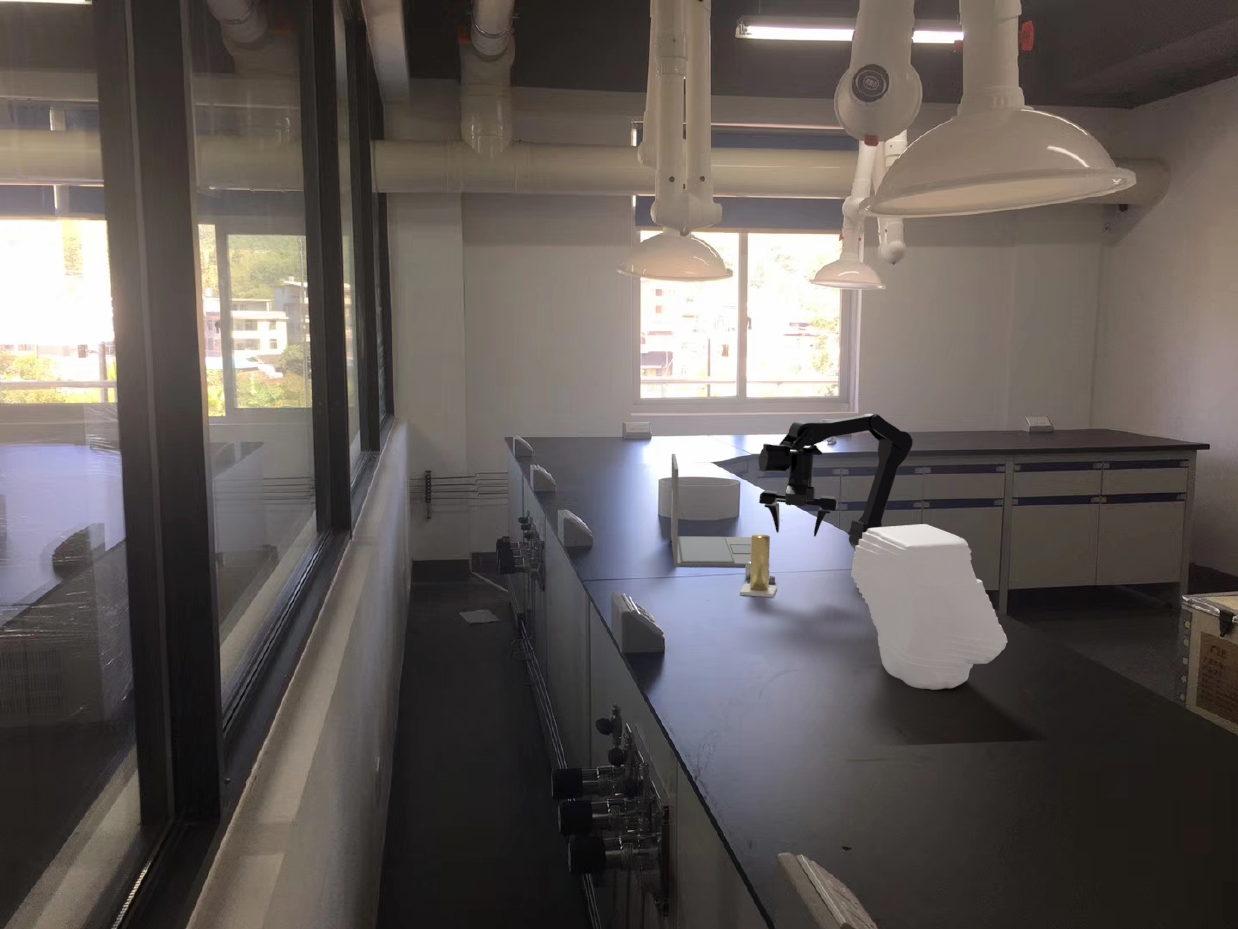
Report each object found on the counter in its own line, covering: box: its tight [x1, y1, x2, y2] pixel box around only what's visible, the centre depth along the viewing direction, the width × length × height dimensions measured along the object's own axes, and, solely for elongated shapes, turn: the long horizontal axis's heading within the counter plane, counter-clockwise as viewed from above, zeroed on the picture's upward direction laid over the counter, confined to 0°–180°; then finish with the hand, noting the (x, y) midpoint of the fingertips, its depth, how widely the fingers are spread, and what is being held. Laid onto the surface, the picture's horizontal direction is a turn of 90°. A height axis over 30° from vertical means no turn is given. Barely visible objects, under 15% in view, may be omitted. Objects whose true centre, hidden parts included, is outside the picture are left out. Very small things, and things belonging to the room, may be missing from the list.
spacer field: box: [744, 562, 776, 585], centre depth 236 cm, size 8×10×4 cm
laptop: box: [670, 453, 752, 568], centre depth 268 cm, size 35×26×27 cm
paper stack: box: [850, 523, 1008, 691], centre depth 168 cm, size 21×27×26 cm
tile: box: [739, 583, 778, 598], centre depth 227 cm, size 8×8×1 cm
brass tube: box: [749, 534, 771, 591], centre depth 226 cm, size 4×4×13 cm
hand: (796, 534), depth 231 cm, fingers open, 9 cm apart
